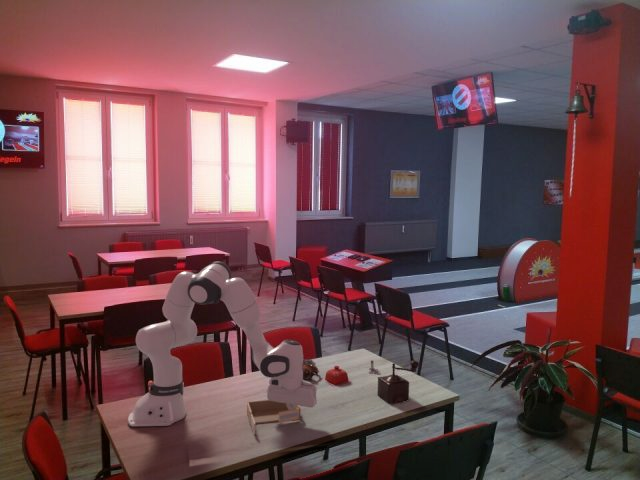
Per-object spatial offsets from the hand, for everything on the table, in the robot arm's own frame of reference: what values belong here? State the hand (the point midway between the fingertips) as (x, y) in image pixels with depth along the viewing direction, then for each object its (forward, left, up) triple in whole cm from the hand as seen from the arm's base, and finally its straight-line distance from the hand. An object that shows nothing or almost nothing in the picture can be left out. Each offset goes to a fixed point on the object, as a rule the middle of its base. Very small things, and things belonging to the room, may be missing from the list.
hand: (291, 413), depth 198 cm
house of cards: (+52, +39, -3) cm, 65 cm away
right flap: (+3, -1, -3) cm, 4 cm away
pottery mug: (+16, +40, -4) cm, 43 cm away
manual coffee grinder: (+50, +9, -3) cm, 51 cm away
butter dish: (+30, +34, -3) cm, 46 cm away
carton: (-7, +5, -3) cm, 9 cm away
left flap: (-16, -1, -3) cm, 17 cm away
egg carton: (+23, +55, -4) cm, 60 cm away
